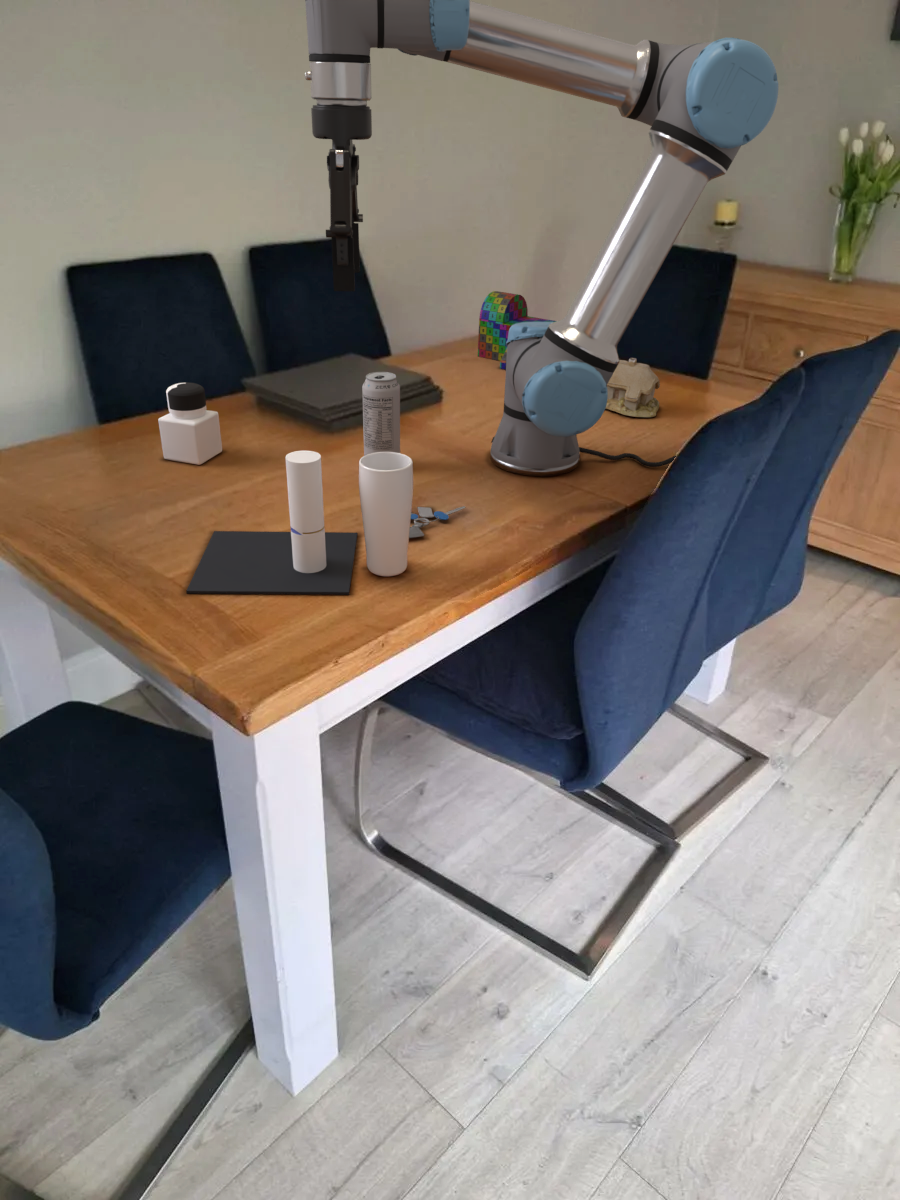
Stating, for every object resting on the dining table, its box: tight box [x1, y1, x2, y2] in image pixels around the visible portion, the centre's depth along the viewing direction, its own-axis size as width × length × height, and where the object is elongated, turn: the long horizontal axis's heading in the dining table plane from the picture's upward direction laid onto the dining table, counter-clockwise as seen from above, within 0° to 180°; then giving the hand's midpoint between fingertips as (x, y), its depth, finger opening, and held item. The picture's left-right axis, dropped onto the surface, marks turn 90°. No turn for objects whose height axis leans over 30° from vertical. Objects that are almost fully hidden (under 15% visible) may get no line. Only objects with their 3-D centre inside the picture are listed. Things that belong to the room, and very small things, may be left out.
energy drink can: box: [361, 371, 401, 456], centre depth 143 cm, size 6×6×15 cm
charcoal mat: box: [185, 530, 358, 596], centre depth 116 cm, size 20×17×1 cm
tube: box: [285, 449, 326, 573], centre depth 111 cm, size 4×4×15 cm
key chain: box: [409, 505, 467, 539], centre depth 128 cm, size 14×8×1 cm, turn 148°
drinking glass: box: [358, 452, 414, 577], centre depth 111 cm, size 7×7×15 cm
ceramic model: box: [605, 357, 661, 418], centre depth 175 cm, size 14×11×10 cm
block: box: [477, 290, 557, 370], centre depth 202 cm, size 25×17×14 cm
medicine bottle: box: [157, 382, 223, 466], centre depth 145 cm, size 7×7×12 cm
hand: (347, 281), depth 120 cm, fingers open, 13 cm apart
